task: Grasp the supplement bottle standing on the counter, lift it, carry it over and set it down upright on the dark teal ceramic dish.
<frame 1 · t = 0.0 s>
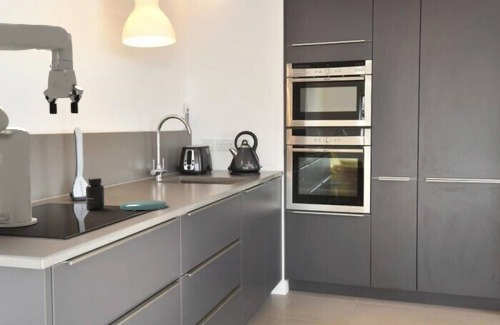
hand: (63, 113, 185), 37 cm above the worktop, tool pointing down, fingers open, 9 cm apart
dish: (143, 207, 199), on the worktop
supplement bottle: (95, 209, 196), on the worktop
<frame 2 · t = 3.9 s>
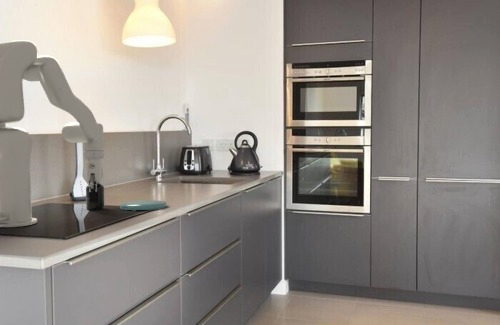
hand: (95, 200, 196), 3 cm above the worktop, tool pointing down, fingers closed on supplement bottle, 6 cm apart
supplement bottle: (95, 209, 196), on the worktop, touching gripper
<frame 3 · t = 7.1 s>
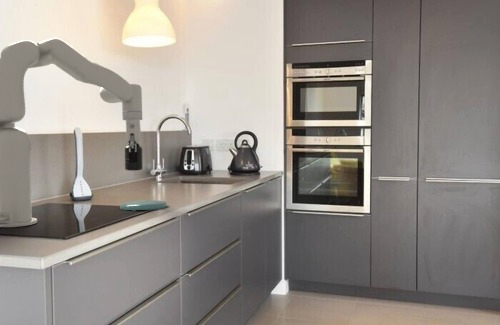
hand: (133, 161, 197), 18 cm above the worktop, tool pointing down, fingers closed on supplement bottle, 6 cm apart
supplement bottle: (134, 170, 198), point 15 cm above the worktop, touching gripper
when the fingers open (5 cm above the worktop, at t = 10.6 s): supplement bottle stays where it is, resting on dish.
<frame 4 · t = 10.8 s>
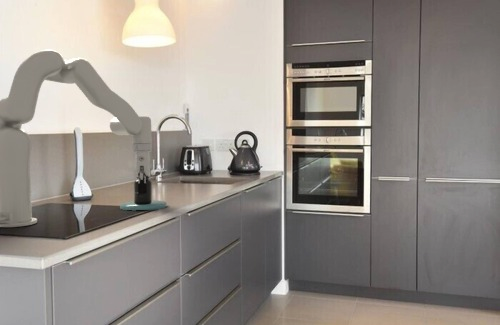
hand: (143, 192, 198), 6 cm above the worktop, tool pointing down, fingers open, 8 cm apart
supplement bottle: (143, 203, 199), point 1 cm above the worktop, touching dish
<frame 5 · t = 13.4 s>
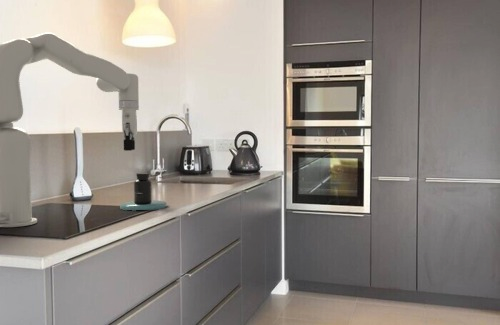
hand: (129, 150, 196), 23 cm above the worktop, tool pointing down, fingers open, 9 cm apart
nothing on the worktop moved.
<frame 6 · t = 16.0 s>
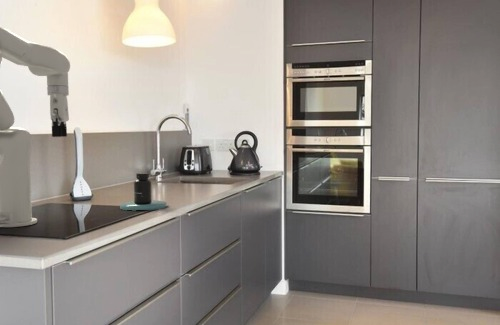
hand: (59, 136, 192), 28 cm above the worktop, tool pointing down, fingers open, 9 cm apart
nothing on the worktop moved.
at the end: supplement bottle inside the target area on the dish (0.1 cm from its centre), point 1.3 cm above the dish's base; supplement bottle tilted 0°; the gripper is holding nothing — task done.
